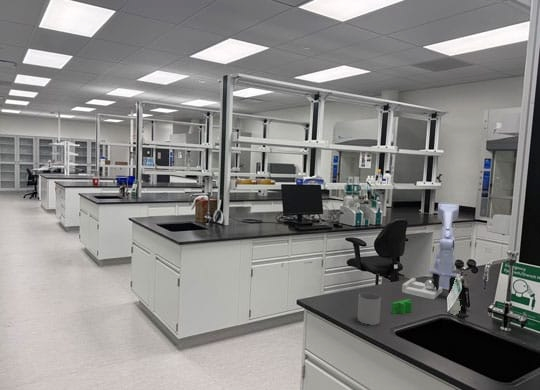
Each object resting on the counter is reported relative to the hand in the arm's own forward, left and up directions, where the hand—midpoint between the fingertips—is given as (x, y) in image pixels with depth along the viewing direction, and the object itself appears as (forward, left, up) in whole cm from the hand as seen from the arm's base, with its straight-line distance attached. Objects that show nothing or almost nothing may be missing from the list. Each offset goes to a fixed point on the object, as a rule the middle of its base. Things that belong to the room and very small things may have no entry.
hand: (443, 291), depth 182 cm
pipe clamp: (+33, -8, -4) cm, 34 cm away
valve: (+17, +10, -4) cm, 20 cm away
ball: (0, -6, +2) cm, 6 cm away
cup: (+53, -16, -3) cm, 55 cm away
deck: (-1, -10, -3) cm, 11 cm away
